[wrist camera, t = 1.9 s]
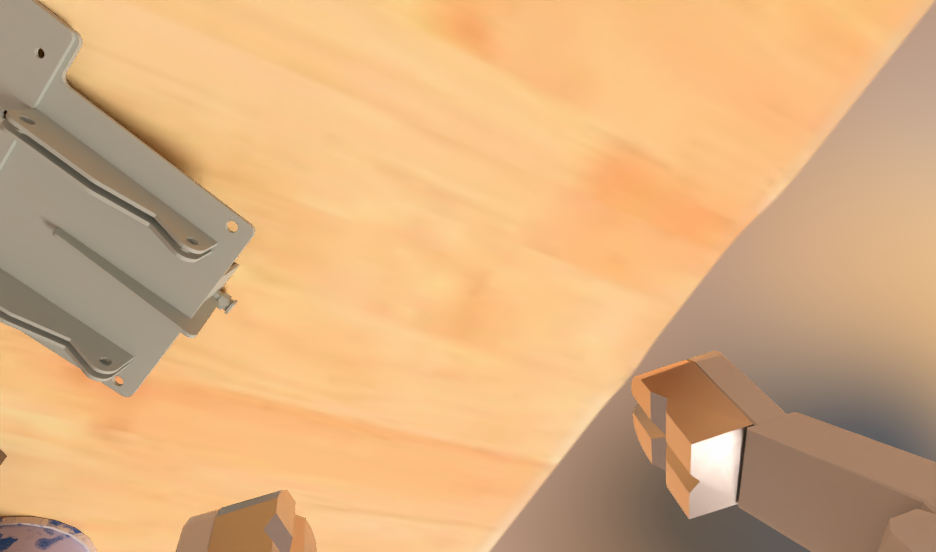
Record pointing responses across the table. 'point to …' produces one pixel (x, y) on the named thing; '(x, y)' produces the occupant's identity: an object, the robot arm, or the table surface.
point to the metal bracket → (97, 219)
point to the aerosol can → (41, 536)
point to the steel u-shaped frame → (2, 457)
